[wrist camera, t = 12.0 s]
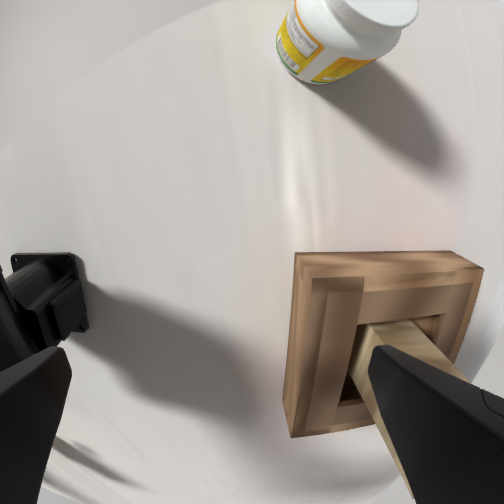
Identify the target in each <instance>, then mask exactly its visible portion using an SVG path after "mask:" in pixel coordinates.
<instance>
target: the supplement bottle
mask: <svg viewBox="0 0 504 504" xmlns="http://www.w3.org/2000/svg"><path fill="white" fill-rule="evenodd" d="M417 14H418V0H293V3H292V5H291V7H290V8H289V10H288V12H287V14H286V16H285V18H284V20H283V23H282V25H281V27H280V29H279V31H278V33H277V36H276V41H275V48H276V53H277V56H278V58H279V60H280V62H281V64H282V65H283V66H284V68H285V69H286V70H287V71H288V72H289V73H291V74H292V75H293V76H295V77H296V78H298V79H300V80H302V81H305V82H308V83H312V84H328V83H332V82H335V81H338V80H339V79H341V78H343V77H345V76H347V75H349V74H350V73H352V72H354V71H356V70H357V69H359V68H361V67H363V66H365V65H367V64H368V63H370V62H372V61H374V60H376V59H378V58H380V57H382V56H384V55H385V54H387V53H388V52H390V51H391V50H392V49H393V48H394V47H395V46H396V44H397V43H398V41H399V38H400V35H401V30H402V29H403V28H405V27H407V26H408V25H410V24H411V23H412V22H413V21H414V20H415V18H416V16H417Z"/></svg>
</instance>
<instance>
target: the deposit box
mask: <svg viewBox="0 0 504 504" xmlns="http://www.w3.org/2000/svg"><path fill="white" fill-rule="evenodd" d="M483 272H484V269H483V268H482V267H480V266H478V265H476V264H474V263H473V262H471V261H469V260H467V259H465V258H463V257H462V256H460V255H458V254H456V253H454V252H452V251H383V252H299V253H295V262H294V277H293V291H292V304H291V317H290V329H289V340H288V351H287V361H286V371H285V381H284V390H283V399H282V402H283V406H284V411H285V415H286V419H287V424H288V428H289V432H290V436H291V438H297V437H305V436H313V435H320V434H326V433H332V432H338V431H344V430H349V429H354V428H359V427H364V426H368V425H373V424H375V422H374V420H373V418H372V416H371V414H370V412H369V410H368V408H367V406H366V404H365V402H364V400H363V398H362V397H361V395H360V393H359V391H358V389H357V387H356V385H355V383H354V381H353V379H352V378H351V376H350V374H349V372H348V370H347V369H348V364H349V360H350V356H351V351H352V347H353V342H354V338H355V333H356V328H357V325H358V324H368V323H377V322H385V321H394V320H402V319H410V320H411V321H412V322H413V323H414V324H415V325H416V326H417V327H418V328H419V329H420V330H421V331H422V332H423V333H424V334H425V335H426V336H427V337H428V339H429V340H430V341H431V342H432V343H433V344H434V345H435V346H436V347H437V348H438V349H439V350H440V351H441V352H442V353H443V354H444V355H445V356H446V357H447V358H448V359H449V361H450V362H451V363H452V364H454V362H455V359H456V357H457V354H458V352H459V349H460V347H461V344H462V341H463V339H464V336H465V333H466V330H467V327H468V324H469V321H470V318H471V315H472V312H473V309H474V306H475V302H476V299H477V295H478V292H479V288H480V284H481V280H482V276H483Z"/></svg>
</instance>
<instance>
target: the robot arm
mask: <svg viewBox="0 0 504 504" xmlns="http://www.w3.org/2000/svg"><path fill="white" fill-rule="evenodd" d="M15 258H16V260H17V261H16V260H15ZM67 258H69V260H70V262H68V261H67ZM11 265H12V269H13V274H11V275H10V276H8V277H7V278H6V279H4V277H3V274H2V268H1V266H0V504H37V500H38V495H39V492H40V488H41V484H42V480H43V476H44V472H45V469H46V465H47V462H48V458H49V455H50V451H51V448H52V445H53V442H54V439H55V436H56V432H57V429H58V426H59V424H60V420H61V417H62V413H63V409H64V405H65V401H66V397H67V393H68V389H69V385H70V381H71V378H72V370H71V367H70V364H69V361H68V359H67V356H66V353H65V351H64V349H63V348H61V347H57V346H58V344H59V343H60V342H61V341H65V340H66V338H67V337H68V336H69V334H70V333H71V332H82V333H84V332H86V331H87V330H88V328H89V325H88V321H87V316H86V306H85V302H84V297H83V292H82V288H81V283H80V281H79V279H78V274H77V268H76V262H75V258H74V256H73V254H71V253H15V254H13V255H12V256H11ZM81 325H83V326H84V327H82V326H81ZM368 376H369V379H370V383H371V386H372V389H373V392H374V395H375V399H376V402H377V405H378V409H379V412H380V415H381V417H382V420H383V422H384V425H385V427H386V429H387V432H388V434H389V436H390V439H391V441H392V443H393V446H394V448H395V451H396V453H397V456H398V458H399V460H400V463H401V465H402V468H403V470H404V473H405V475H406V478H407V480H408V483H409V486H410V488H411V491H412V493H413V496H414V499H415V501H416V504H504V399H503V398H501V397H499V396H497V395H494V394H492V393H490V392H488V391H485V390H483V389H480V388H479V387H477V386H474V385H472V384H470V383H468V382H466V381H464V380H462V379H460V378H457V377H455V376H453V375H451V374H449V373H447V372H445V371H443V370H440V369H438V368H436V367H434V366H432V365H430V364H428V363H426V362H424V361H422V360H420V359H417V358H415V357H413V356H411V355H409V354H407V353H405V352H403V351H401V350H399V349H397V348H395V347H393V346H391V345H389V344H383V345H377V346H375V347H374V348H373V351H372V355H371V358H370V362H369V366H368Z"/></svg>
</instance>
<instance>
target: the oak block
mask: <svg viewBox="0 0 504 504" xmlns="http://www.w3.org/2000/svg"><path fill="white" fill-rule="evenodd" d="M383 344H389V345H391V346H393V347H395V348H397V349H399V350H401V351H403V352H405V353H407V354H409V355H411V356H413V357H415V358H417V359H420V360H422V361H424V362H426V363H428V364H430V365H432V366H434V367H436V368H438V369H440V370H443V371H445V372H447V373H449V374H451V375H453V376H455V377H457V378H460V379H462V380H464V381H466V382H468V383H470V382H469V381H468V380H467V379H466V378H465V377H464V376H463V375H462V373H461V372H460V371H459V370H458V369H457V368H456V367H455V366H454V365H453V364H452V363H451V362H450V361H449V359H448V358H447V357H446V356H445V355H444V354H443V353H442V352H441V351H440V350H439V349H438V348H437V347H436V346H435V345H434V344H433V343H432V342H431V341H430V340H429V339H428V337H427V336H426V335H425V334H424V333H423V332H422V331H421V330H420V329H419V328H418V327H417V326H416V325H415V324H414V323H413V322H412V321H411V320H410V319H402V320H394V321H385V322H377V323H368V324H358V325H357V328H356V333H355V338H354V342H353V347H352V351H351V356H350V360H349V364H348V369H347V370H348V372H349V374H350V376H351V378H352V379H353V381H354V383H355V385H356V387H357V389H358V391H359V393H360V395H361V397H362V398H363V400H364V402H365V404H366V406H367V408H368V410H369V412H370V414H371V416H372V418H373V420H374V422H375V424H376V426H377V428H378V429H379V431H380V433H381V435H382V437H383V439H384V441H385V443H386V445H387V447H388V449H389V451H390V453H391V455H392V457H393V459H394V461H395V463H396V465H397V467H398V469H399V471H400V473H401V476H402V478H403V480H404V481H405V483H406V486H407V488H408V490H409V492H410V494H411V496H412V498H413V499H414V496H413V493H412V491H411V488H410V486H409V483H408V480H407V478H406V475H405V473H404V470H403V468H402V465H401V463H400V460H399V458H398V456H397V453H396V451H395V448H394V446H393V443H392V441H391V439H390V436H389V434H388V432H387V429H386V427H385V425H384V422H383V420H382V417H381V415H380V412H379V409H378V405H377V402H376V399H375V395H374V392H373V389H372V386H371V383H370V379H369V376H368V366H369V362H370V358H371V355H372V351H373V348H374V347H375V346H377V345H383ZM470 384H471V383H470Z"/></svg>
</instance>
